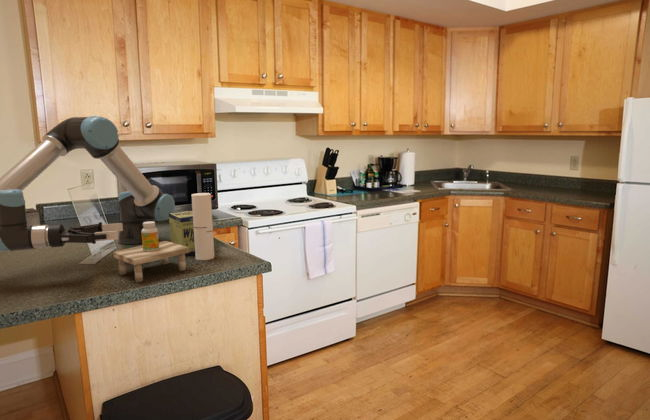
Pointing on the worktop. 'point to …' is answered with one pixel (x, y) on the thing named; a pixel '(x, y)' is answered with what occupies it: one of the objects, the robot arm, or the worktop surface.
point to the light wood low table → (149, 257)
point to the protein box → (182, 230)
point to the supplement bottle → (150, 236)
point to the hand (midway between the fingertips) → (120, 230)
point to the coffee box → (32, 217)
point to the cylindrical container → (203, 226)
